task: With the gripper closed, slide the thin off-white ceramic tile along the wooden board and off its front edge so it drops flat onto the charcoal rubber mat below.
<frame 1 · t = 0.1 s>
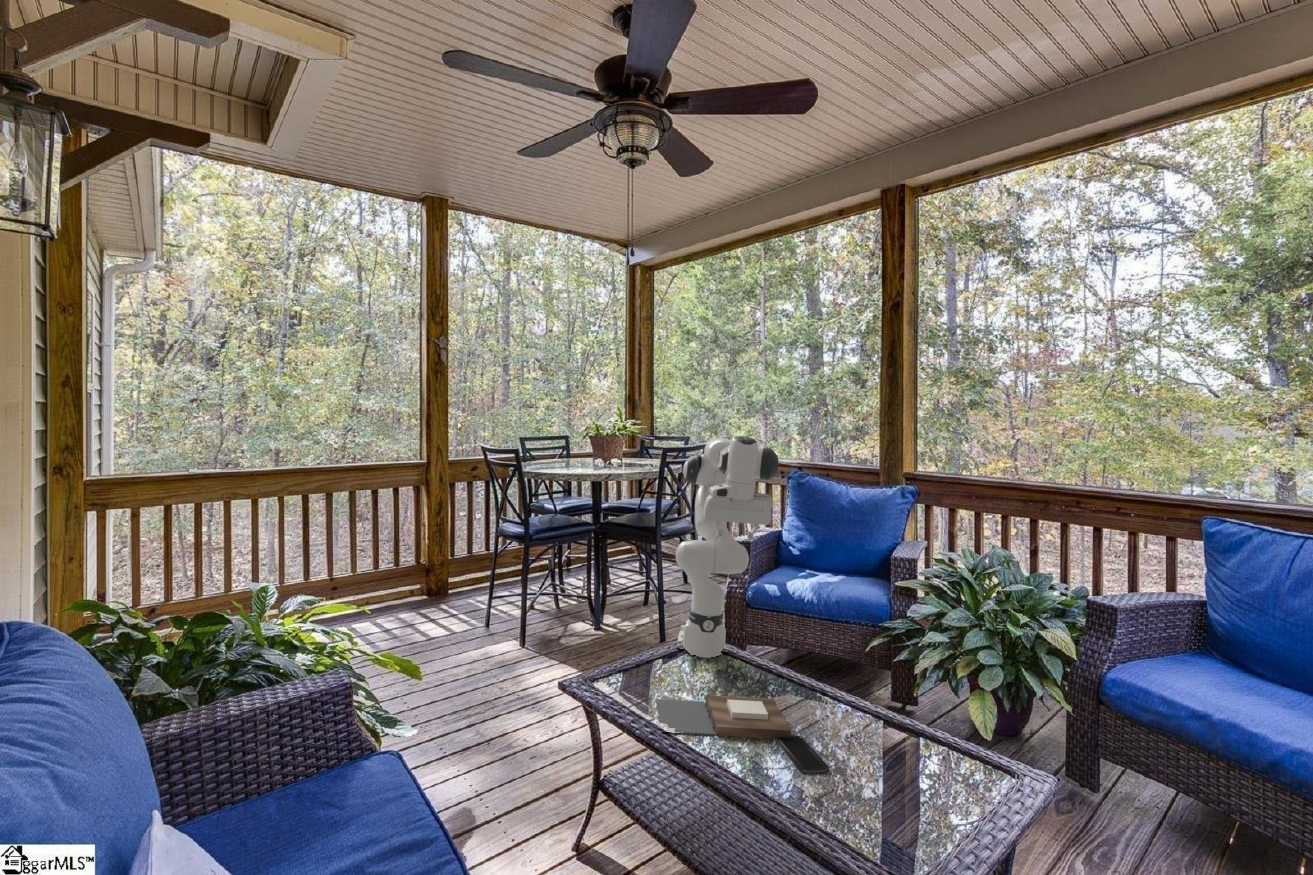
hand: (734, 537, 181), 48 cm above the table, tool pointing down, fingers open, 8 cm apart
tile: (746, 711, 169), point 2 cm above the table, touching wooden board
mat: (683, 717, 167), on the table
phone: (801, 757, 154), on the table
wooden board: (745, 720, 169), on the table
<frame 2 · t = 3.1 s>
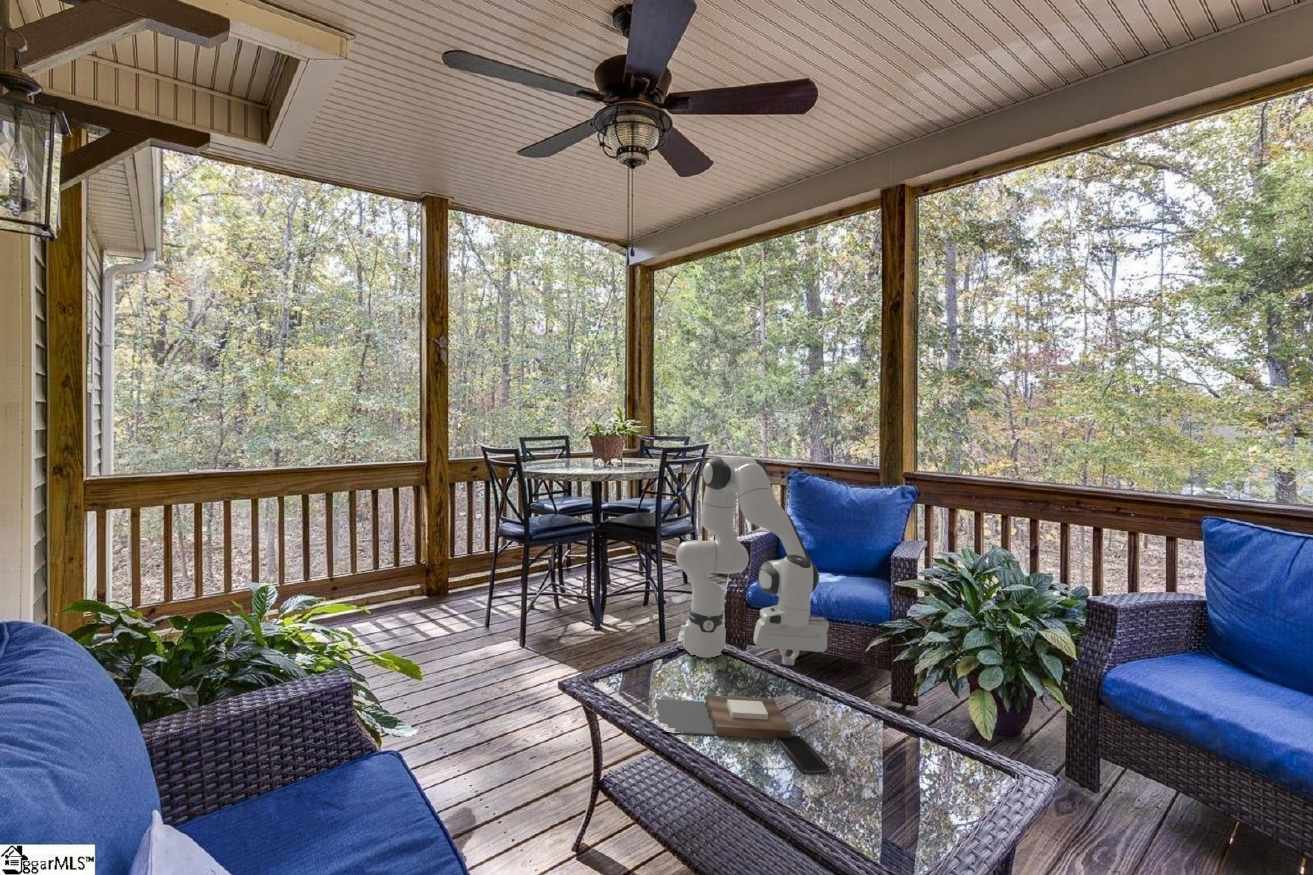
hand: (787, 664, 168), 17 cm above the table, tool pointing down, fingers closed
nothing on the table moved.
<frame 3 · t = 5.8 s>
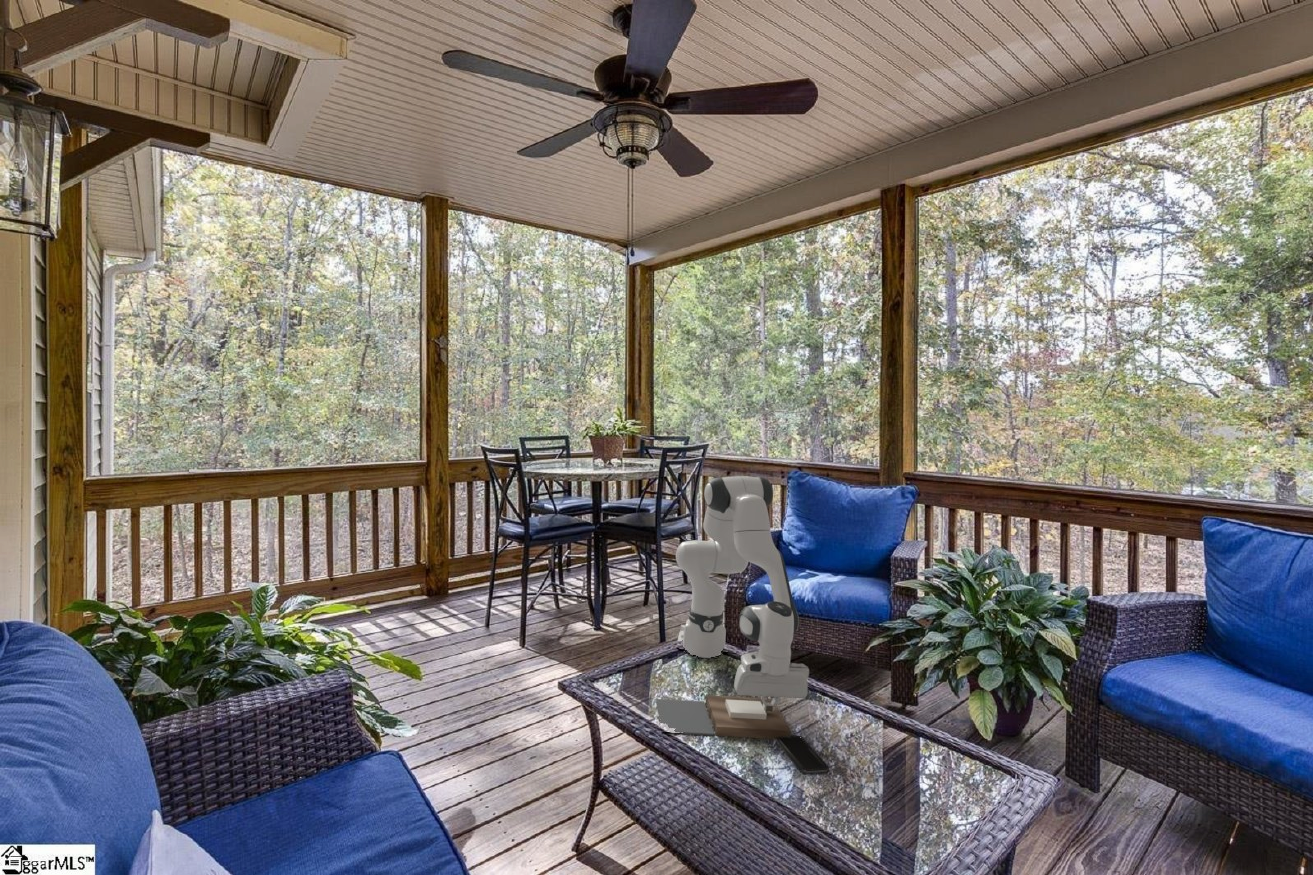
hand: (768, 710, 169), 3 cm above the table, tool pointing down, fingers closed
tile: (745, 711, 169), point 2 cm above the table, touching gripper, wooden board
everything else where it was.
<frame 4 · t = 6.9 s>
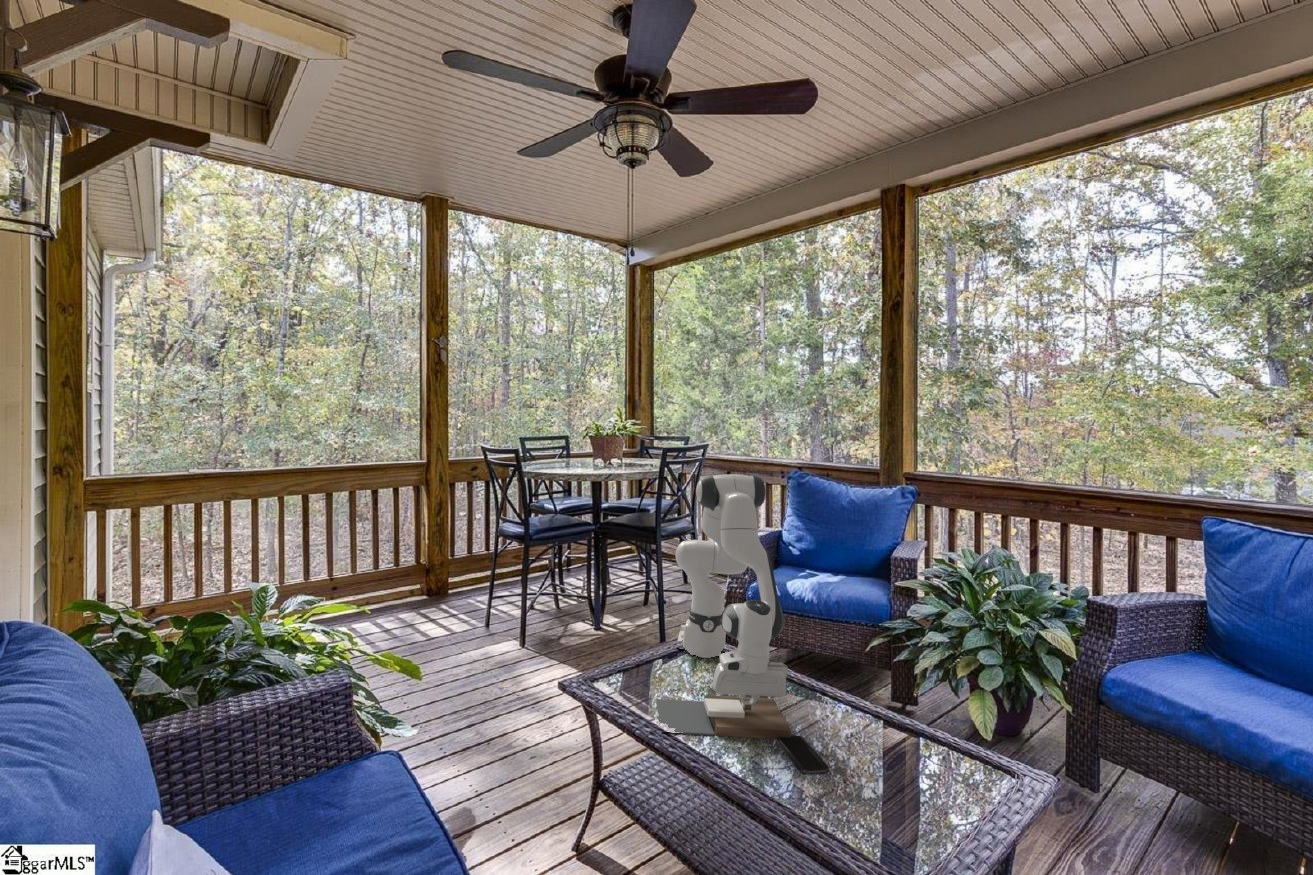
hand: (746, 709, 169), 3 cm above the table, tool pointing down, fingers closed
tile: (723, 710, 168), point 3 cm above the table, touching gripper, wooden board
everything else where it was.
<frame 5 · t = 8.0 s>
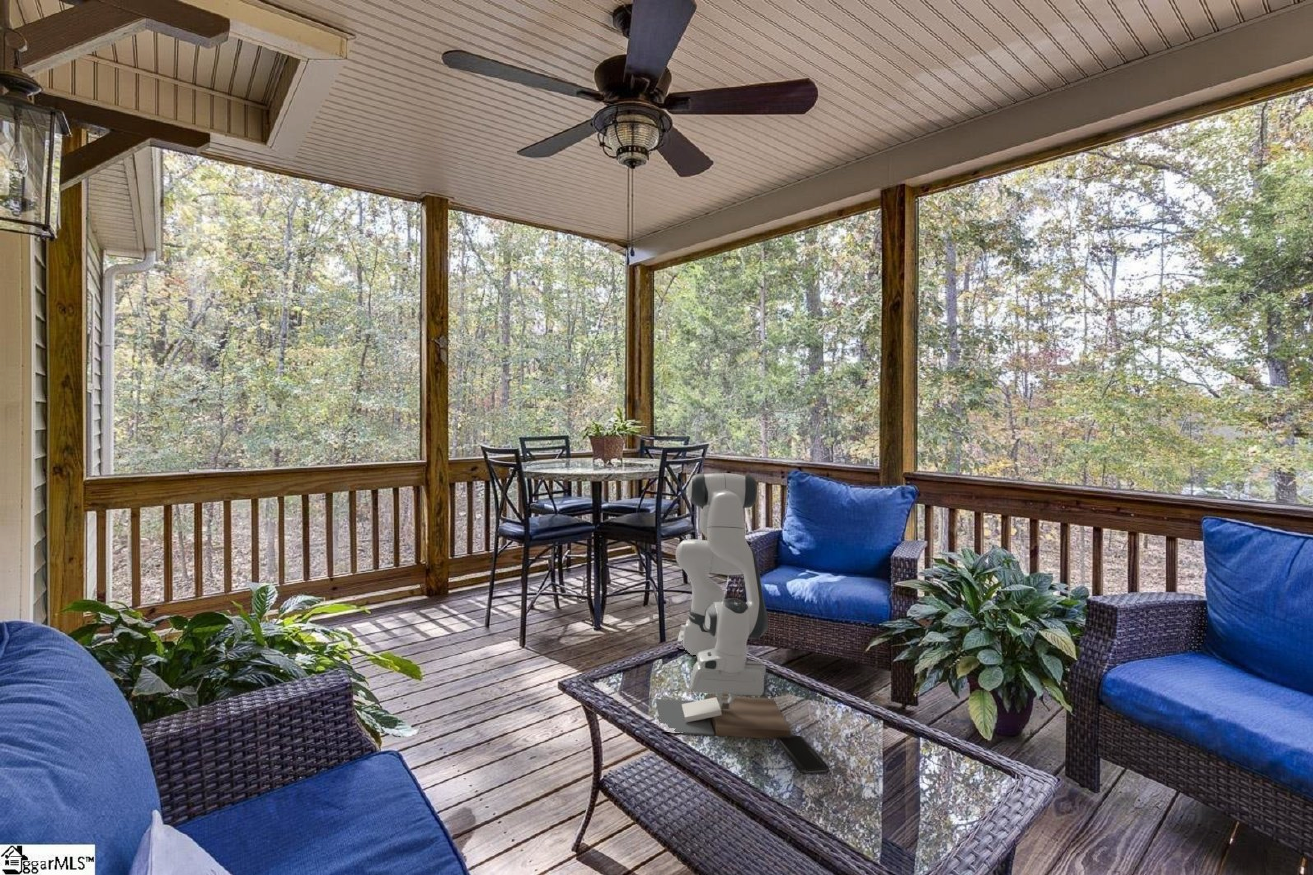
hand: (724, 707, 168), 3 cm above the table, tool pointing down, fingers closed
tile: (701, 712, 167), point 2 cm above the table, tilted 15°, touching gripper
everything else where it was.
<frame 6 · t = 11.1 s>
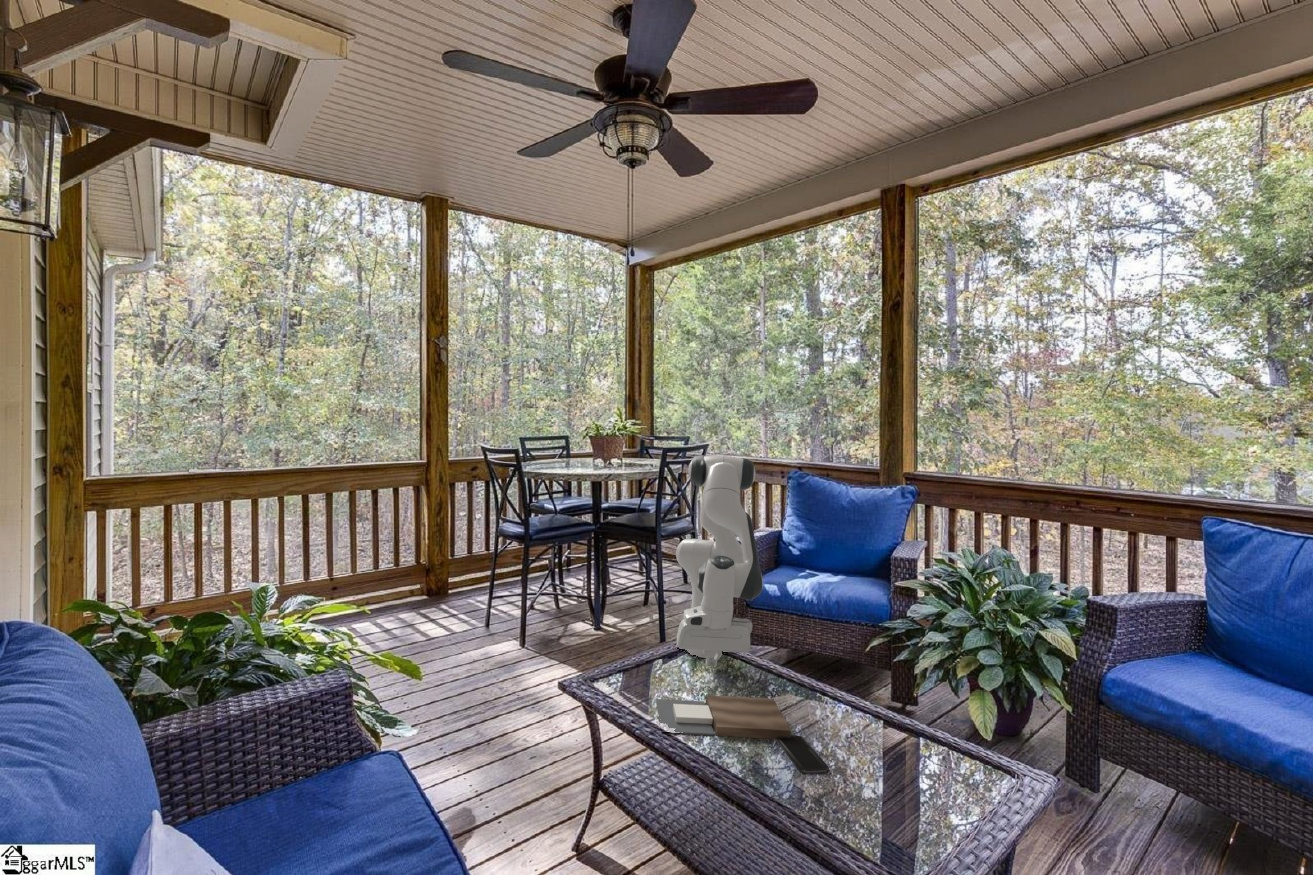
hand: (711, 665, 167), 15 cm above the table, tool pointing down, fingers closed
tile: (692, 716, 167), resting on mat
everything else where it was.
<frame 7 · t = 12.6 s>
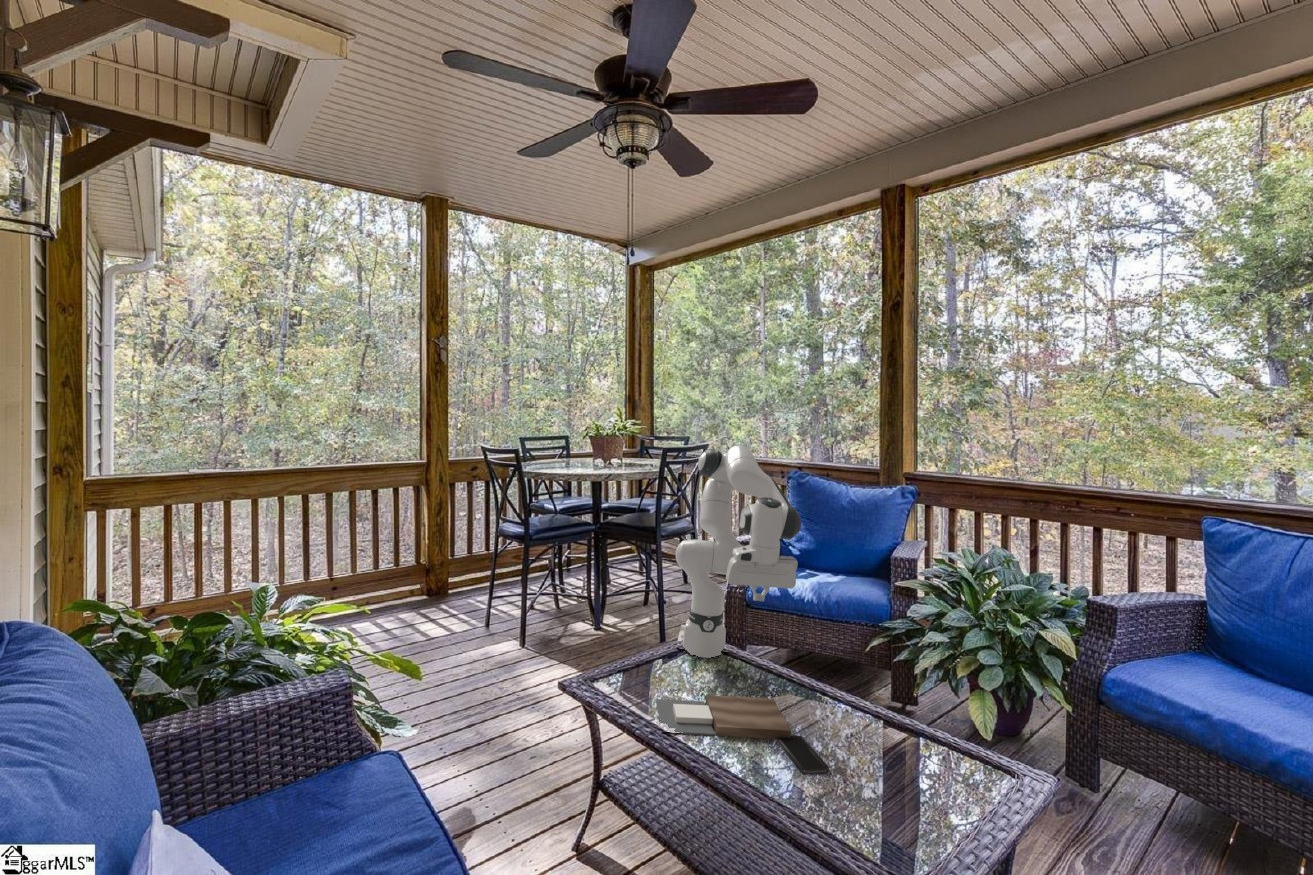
hand: (758, 600, 178), 31 cm above the table, tool pointing down, fingers closed
nothing on the table moved.
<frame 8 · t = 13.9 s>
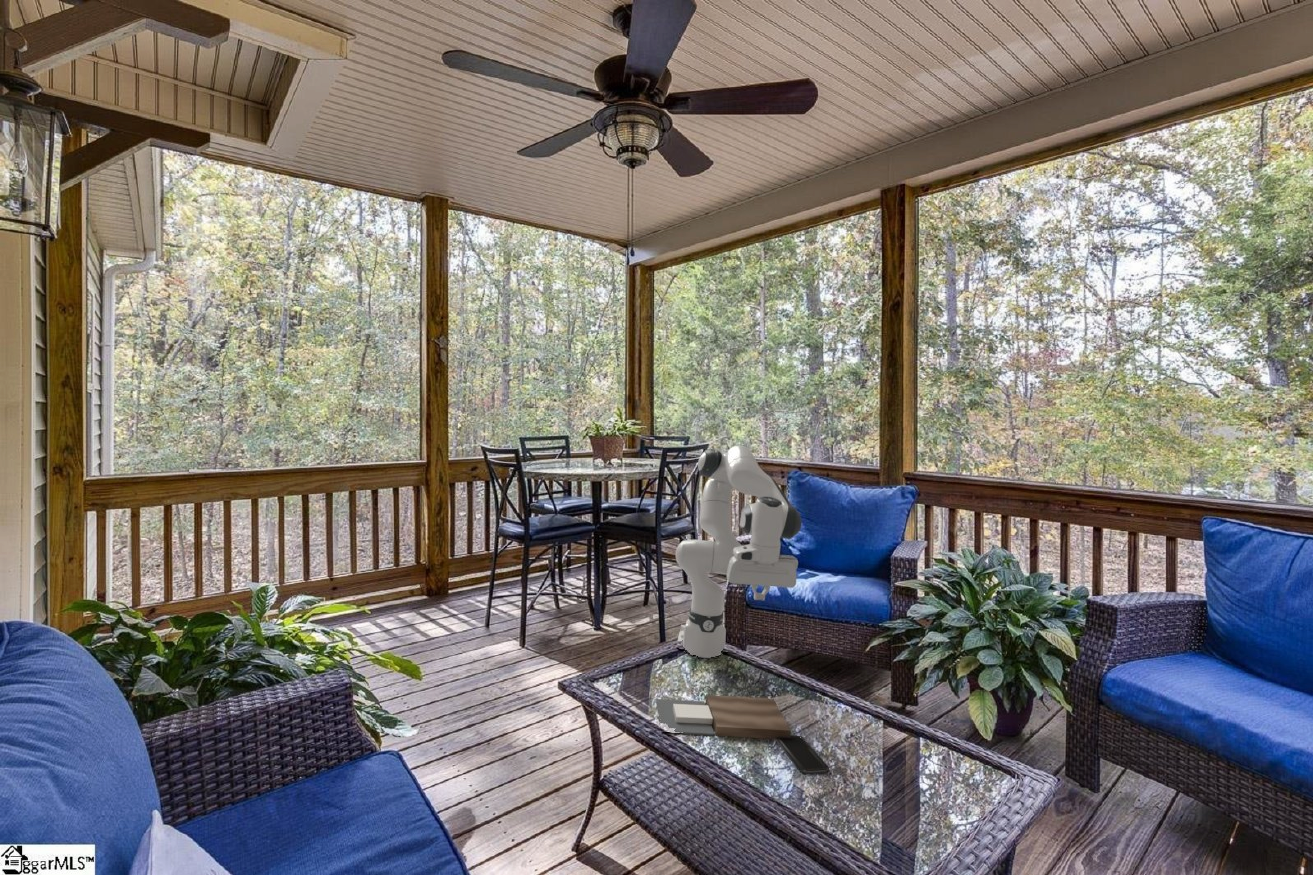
hand: (759, 599, 178), 31 cm above the table, tool pointing down, fingers closed
nothing on the table moved.
at the end: tile point 0.5 cm above the table; tile inside the target area on the mat (2.3 cm from its centre), point 0.5 cm above the mat's base; tile tilted 0° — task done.
